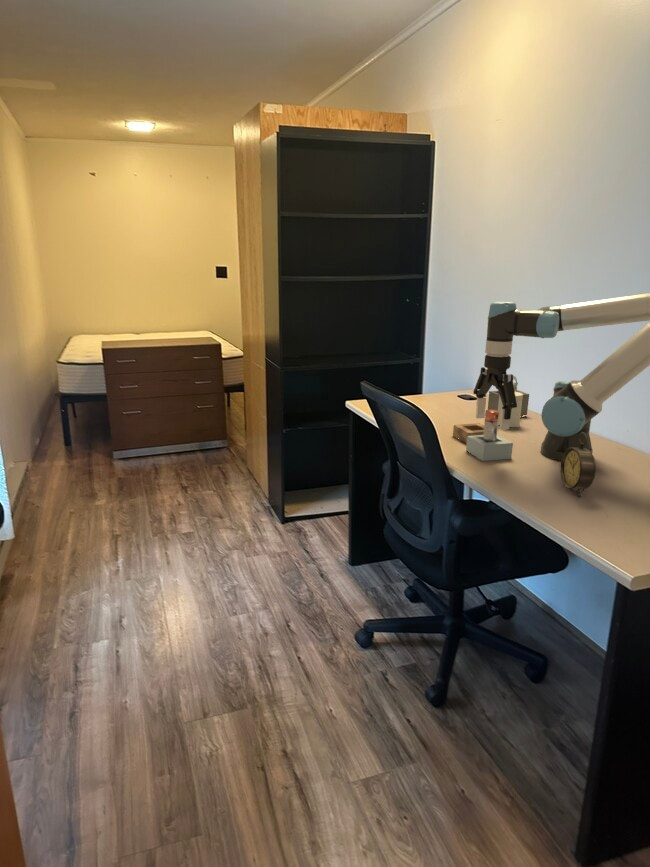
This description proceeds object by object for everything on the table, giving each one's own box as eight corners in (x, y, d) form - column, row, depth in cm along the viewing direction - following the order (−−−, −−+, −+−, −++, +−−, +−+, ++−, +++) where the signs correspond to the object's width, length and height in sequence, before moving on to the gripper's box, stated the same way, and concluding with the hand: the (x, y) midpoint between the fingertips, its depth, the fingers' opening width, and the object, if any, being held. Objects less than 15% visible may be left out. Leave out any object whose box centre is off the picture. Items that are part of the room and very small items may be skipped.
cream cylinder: (520, 428, 215) (524, 396, 211) (497, 427, 216) (501, 395, 212) (517, 422, 222) (521, 391, 219) (495, 421, 223) (498, 390, 220)
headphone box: (526, 416, 231) (529, 394, 228) (498, 418, 228) (501, 395, 225) (514, 411, 239) (516, 389, 236) (487, 413, 235) (489, 391, 233)
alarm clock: (556, 484, 162) (564, 426, 157) (575, 483, 162) (584, 426, 157) (575, 499, 151) (584, 438, 147) (595, 499, 151) (605, 438, 147)
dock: (511, 458, 182) (513, 442, 181) (482, 461, 179) (484, 445, 178) (493, 448, 191) (495, 433, 190) (465, 451, 188) (467, 436, 187)
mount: (494, 442, 198) (495, 430, 197) (467, 444, 195) (468, 432, 194) (478, 434, 207) (479, 423, 206) (452, 436, 204) (453, 424, 203)
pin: (497, 456, 184) (501, 412, 180) (485, 457, 183) (490, 413, 179) (490, 452, 188) (494, 409, 184) (479, 453, 186) (483, 410, 182)
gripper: (534, 360, 166) (526, 433, 172) (486, 348, 189) (481, 412, 195) (511, 361, 164) (504, 435, 170) (465, 349, 187) (460, 414, 193)
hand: (491, 423), depth 182 cm, fingers open, 13 cm apart
